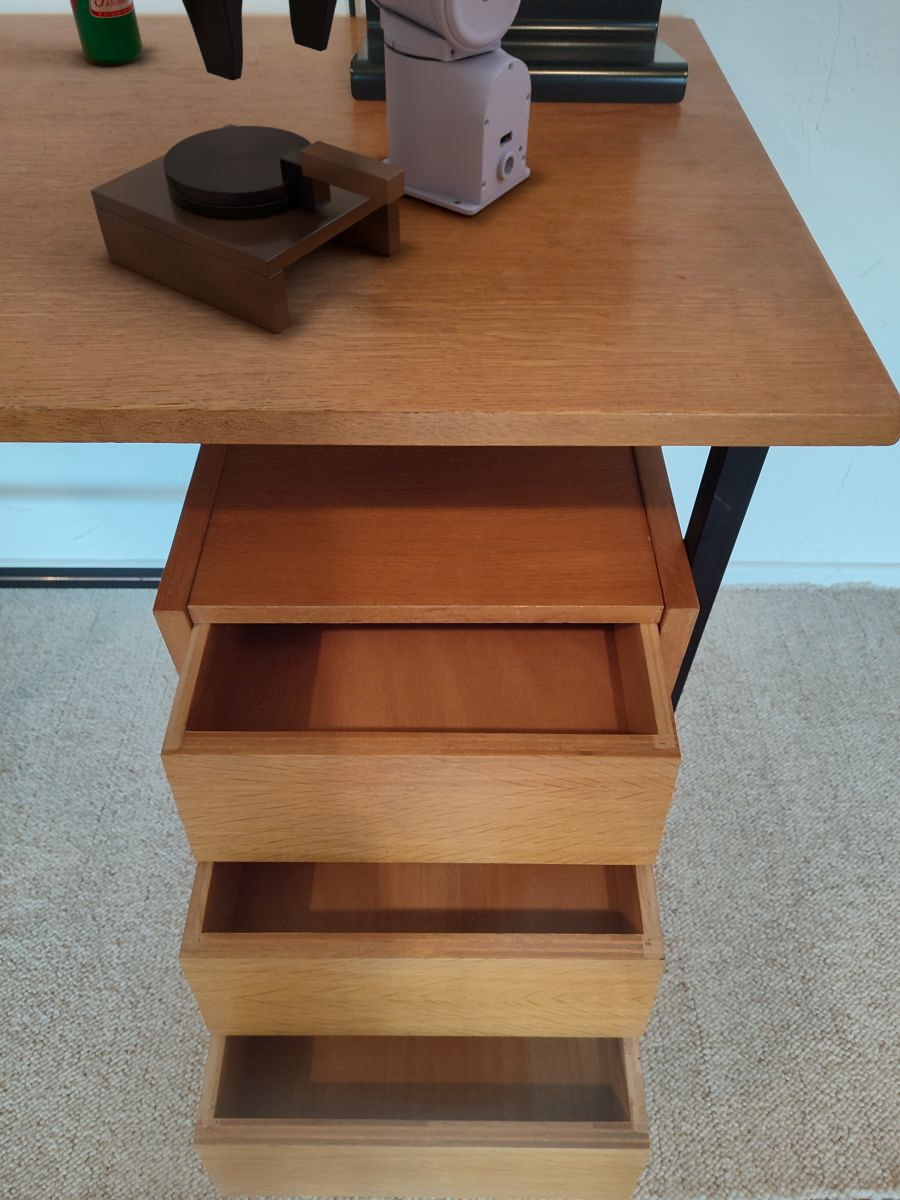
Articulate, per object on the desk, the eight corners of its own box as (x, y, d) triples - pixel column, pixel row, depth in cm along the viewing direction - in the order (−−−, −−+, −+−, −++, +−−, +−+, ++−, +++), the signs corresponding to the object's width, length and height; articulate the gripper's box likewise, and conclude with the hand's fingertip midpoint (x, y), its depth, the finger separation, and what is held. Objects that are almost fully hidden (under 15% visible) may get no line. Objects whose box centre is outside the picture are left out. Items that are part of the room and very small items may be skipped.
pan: (136, 191, 55) (120, 126, 52) (241, 139, 60) (232, 77, 57) (347, 274, 49) (342, 206, 46) (443, 209, 54) (444, 144, 51)
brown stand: (400, 249, 60) (398, 179, 56) (276, 334, 53) (266, 261, 50) (240, 189, 65) (229, 122, 62) (109, 260, 58) (89, 189, 55)
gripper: (286, -265, 50) (297, 20, 60) (73, -263, 41) (126, 70, 51) (391, -247, 48) (384, 46, 58) (188, -241, 39) (221, 104, 49)
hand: (269, 60), depth 54 cm, fingers open, 7 cm apart
